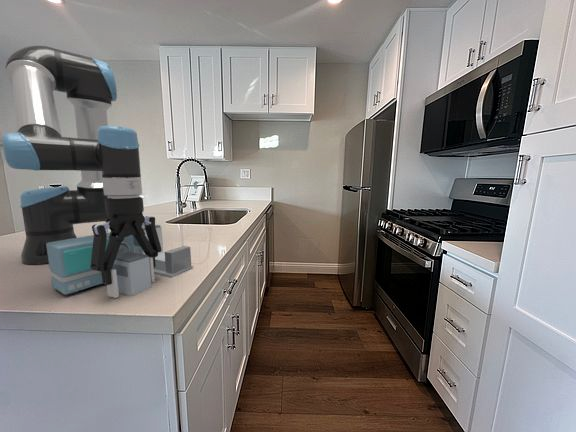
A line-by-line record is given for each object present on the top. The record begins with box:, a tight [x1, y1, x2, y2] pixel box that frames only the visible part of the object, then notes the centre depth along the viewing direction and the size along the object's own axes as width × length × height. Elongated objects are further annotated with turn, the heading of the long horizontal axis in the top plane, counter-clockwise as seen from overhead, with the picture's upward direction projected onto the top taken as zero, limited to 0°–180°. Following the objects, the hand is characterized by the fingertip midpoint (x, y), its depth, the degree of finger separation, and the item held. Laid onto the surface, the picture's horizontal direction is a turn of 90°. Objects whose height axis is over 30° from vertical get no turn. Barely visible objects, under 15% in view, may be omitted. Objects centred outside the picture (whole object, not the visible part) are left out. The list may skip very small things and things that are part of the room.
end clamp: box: [164, 245, 192, 274], centre depth 73 cm, size 2×7×6 cm, turn 157°
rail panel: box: [154, 251, 194, 278], centre depth 76 cm, size 20×8×4 cm, turn 67°
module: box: [112, 252, 152, 297], centre depth 62 cm, size 7×5×8 cm
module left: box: [133, 224, 164, 255], centre depth 78 cm, size 7×8×12 cm
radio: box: [46, 231, 134, 296], centre depth 64 cm, size 16×9×20 cm, turn 148°
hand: (132, 288), depth 62 cm, fingers open, 9 cm apart
